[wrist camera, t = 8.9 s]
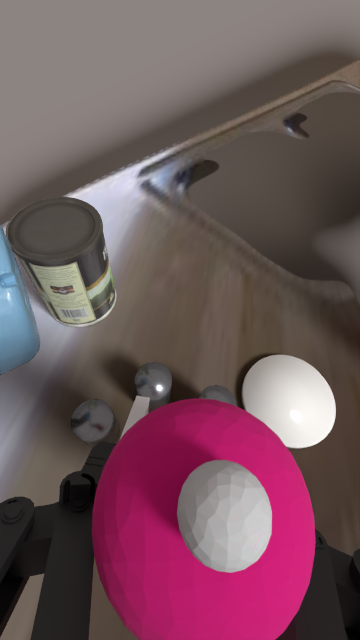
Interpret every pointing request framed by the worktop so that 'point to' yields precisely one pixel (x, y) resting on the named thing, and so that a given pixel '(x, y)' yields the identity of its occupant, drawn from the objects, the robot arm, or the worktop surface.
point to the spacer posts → (151, 381)
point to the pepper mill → (203, 526)
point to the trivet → (290, 400)
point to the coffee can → (65, 258)
